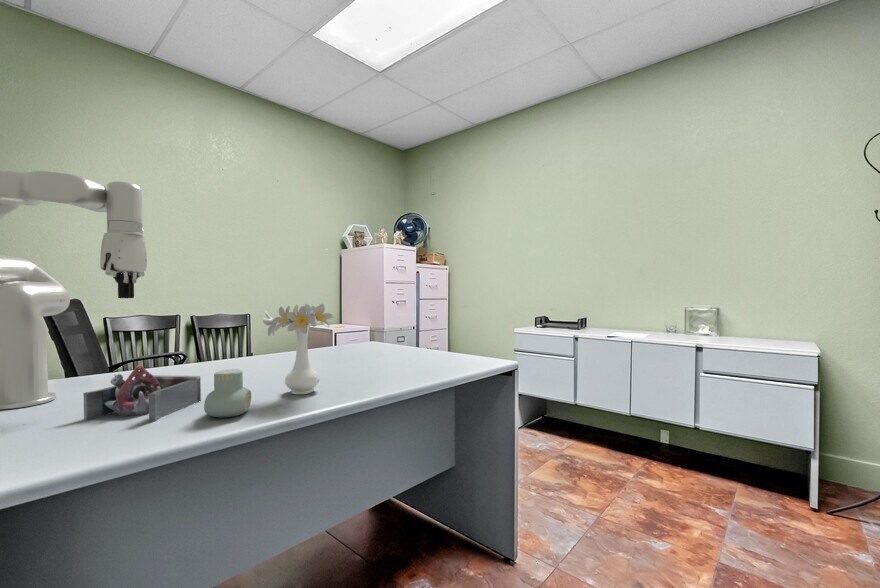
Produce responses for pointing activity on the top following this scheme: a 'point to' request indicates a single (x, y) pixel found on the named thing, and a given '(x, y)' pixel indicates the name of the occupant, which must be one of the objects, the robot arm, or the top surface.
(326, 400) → the top surface
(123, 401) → the red and grey figure
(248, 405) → the grey rounded piece
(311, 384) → the flower vase
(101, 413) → the bracket
